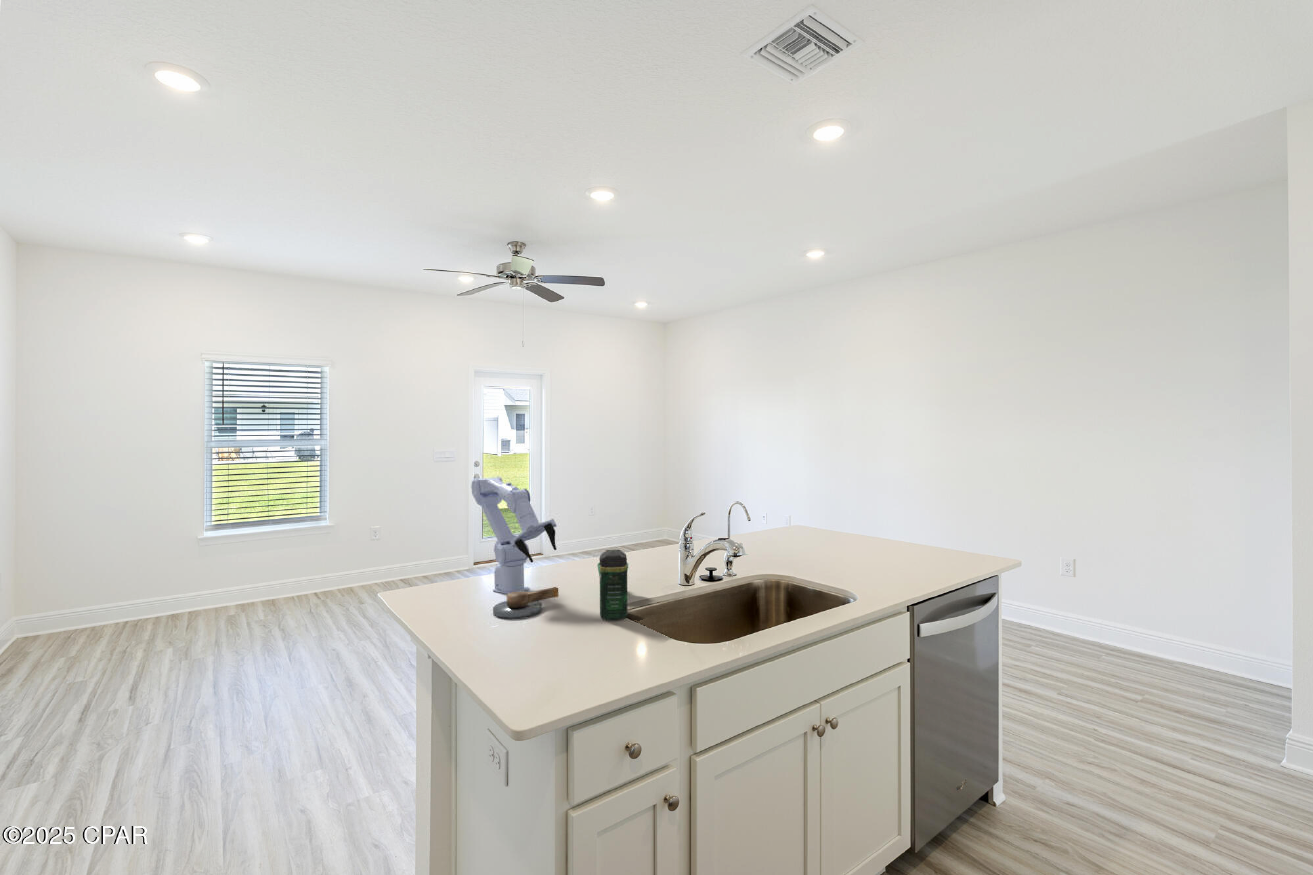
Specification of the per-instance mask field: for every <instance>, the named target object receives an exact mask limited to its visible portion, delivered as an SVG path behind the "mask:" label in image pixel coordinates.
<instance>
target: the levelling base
mask: <svg viewBox="0 0 1313 875" xmlns="http://www.w3.org/2000/svg"><path fill="white" fill-rule="evenodd" d="M542 611H543V604H542V602H541V601H535V602H531V603H528V605H526V606H524V607H518V608H511V607H508V606H507V600H504V601H501V602H499V603H497V604H495V605H494V606H493V607H492V615H493V616H494V617H495V618H498V619H502V620H503V619H504V620H519V619H520V620H521V619H526V618H531V617H534V616H536V615H538V614H540V613H541V612H542Z"/></svg>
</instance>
